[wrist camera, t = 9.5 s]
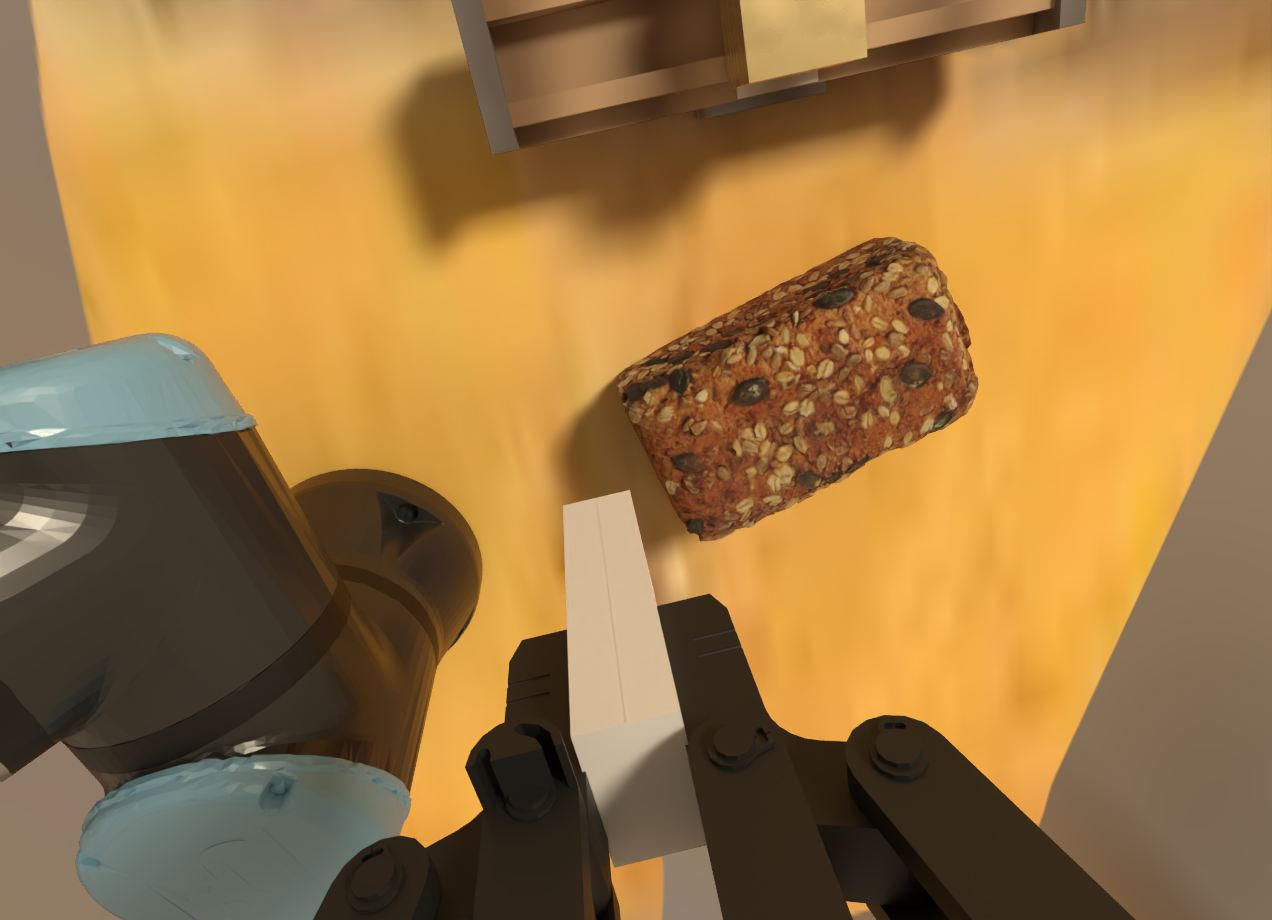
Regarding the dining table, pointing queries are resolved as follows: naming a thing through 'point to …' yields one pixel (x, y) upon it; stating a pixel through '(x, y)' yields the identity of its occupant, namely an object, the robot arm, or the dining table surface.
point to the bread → (802, 386)
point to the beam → (683, 57)
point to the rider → (789, 37)
